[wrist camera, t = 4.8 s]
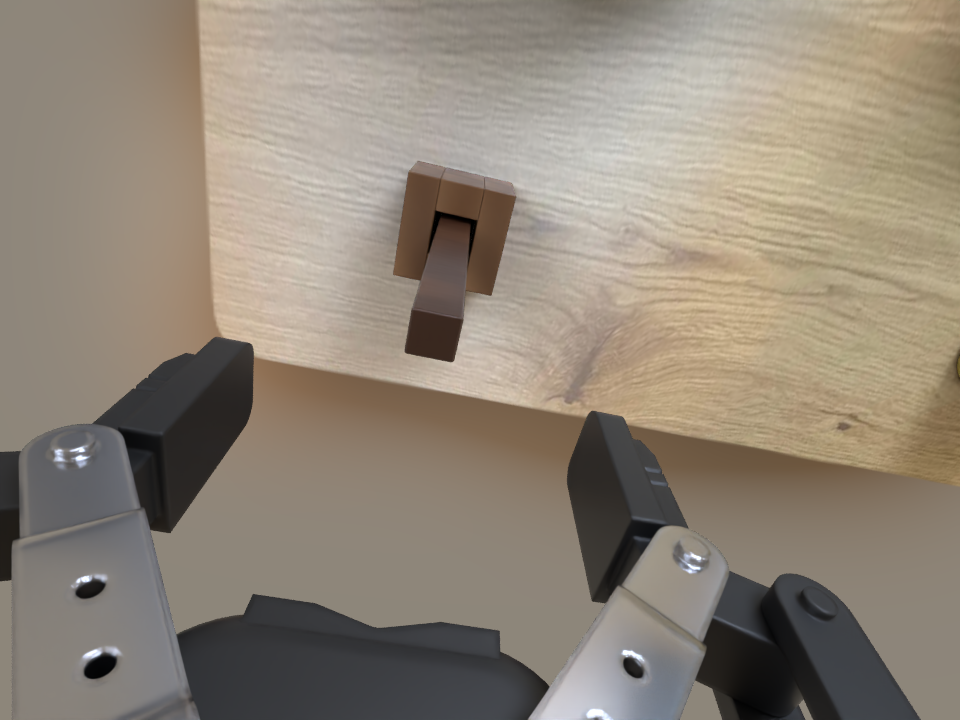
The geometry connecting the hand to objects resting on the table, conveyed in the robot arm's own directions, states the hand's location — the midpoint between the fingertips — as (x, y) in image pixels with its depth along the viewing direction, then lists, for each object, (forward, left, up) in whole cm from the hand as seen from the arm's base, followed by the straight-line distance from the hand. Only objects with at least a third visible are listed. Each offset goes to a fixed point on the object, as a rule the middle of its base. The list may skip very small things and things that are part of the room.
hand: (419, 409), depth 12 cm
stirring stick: (0, 0, -20) cm, 20 cm away
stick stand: (0, 0, -20) cm, 20 cm away
